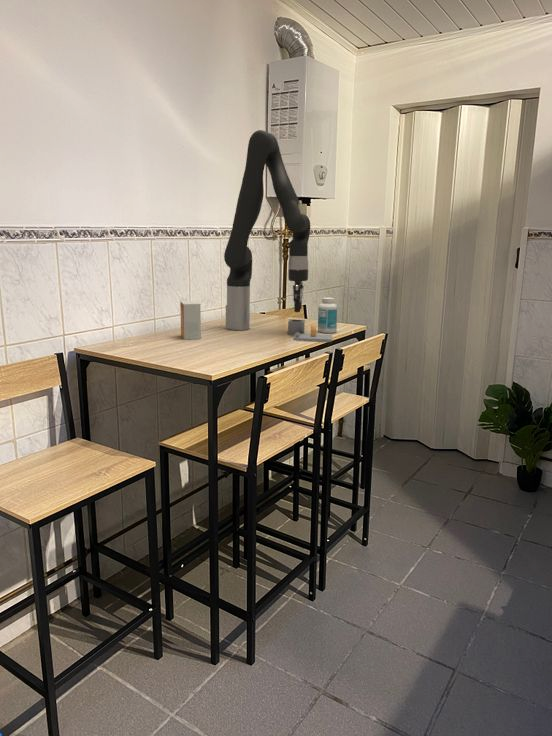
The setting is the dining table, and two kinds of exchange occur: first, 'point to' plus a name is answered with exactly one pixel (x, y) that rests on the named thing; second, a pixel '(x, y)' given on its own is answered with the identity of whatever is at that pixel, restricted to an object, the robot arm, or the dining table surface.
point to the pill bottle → (327, 316)
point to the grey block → (296, 326)
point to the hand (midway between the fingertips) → (298, 310)
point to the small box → (190, 320)
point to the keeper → (313, 336)
